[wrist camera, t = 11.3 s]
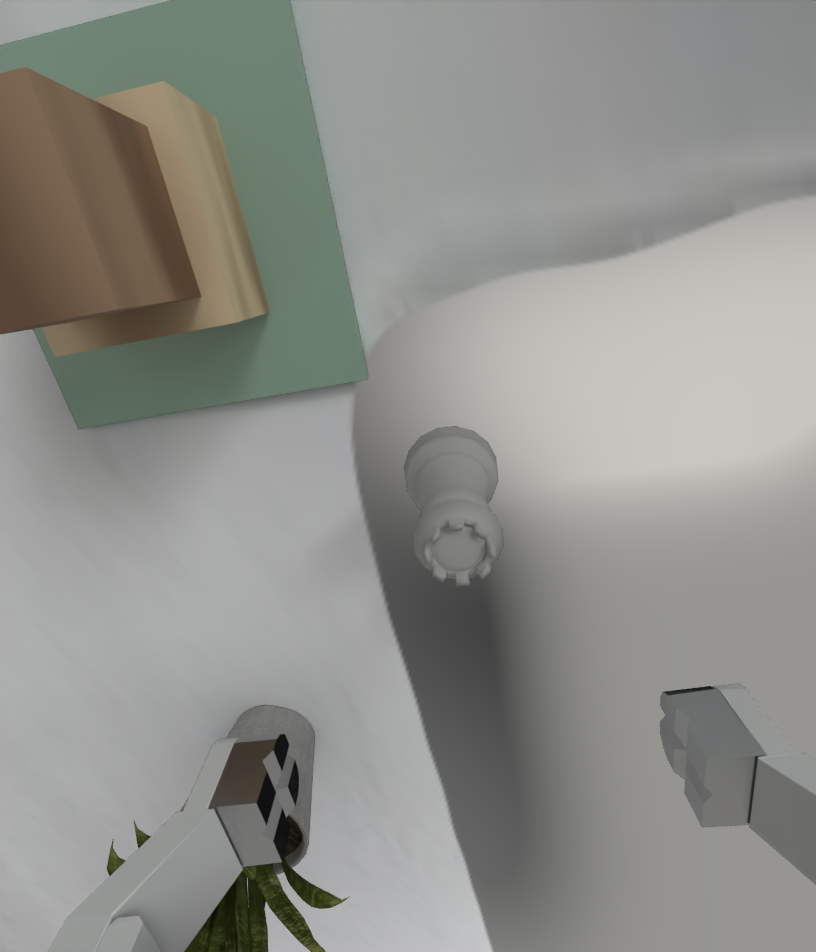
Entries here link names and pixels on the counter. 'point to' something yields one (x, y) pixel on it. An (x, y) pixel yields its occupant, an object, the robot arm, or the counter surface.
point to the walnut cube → (81, 210)
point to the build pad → (261, 198)
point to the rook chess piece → (454, 503)
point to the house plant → (234, 924)
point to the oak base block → (183, 228)
